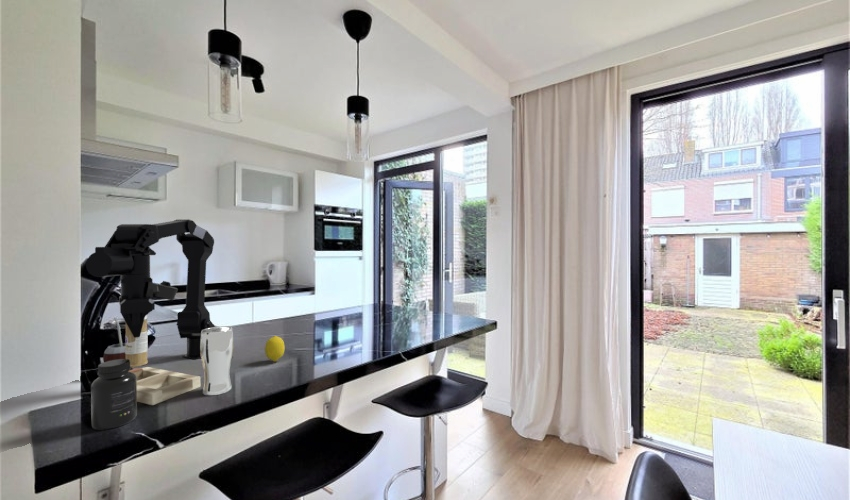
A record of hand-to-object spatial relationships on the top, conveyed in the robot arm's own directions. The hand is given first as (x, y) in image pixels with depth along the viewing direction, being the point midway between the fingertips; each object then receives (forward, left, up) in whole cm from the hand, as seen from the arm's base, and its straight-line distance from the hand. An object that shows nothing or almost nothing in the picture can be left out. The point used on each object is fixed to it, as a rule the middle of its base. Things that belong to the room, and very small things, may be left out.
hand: (136, 335), depth 88 cm
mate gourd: (-14, +4, -13) cm, 20 cm away
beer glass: (+22, +5, -13) cm, 26 cm away
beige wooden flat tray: (+5, 0, -13) cm, 14 cm away
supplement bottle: (+17, -13, -13) cm, 25 cm away
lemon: (+19, +27, -13) cm, 35 cm away
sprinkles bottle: (0, 0, -8) cm, 8 cm away
